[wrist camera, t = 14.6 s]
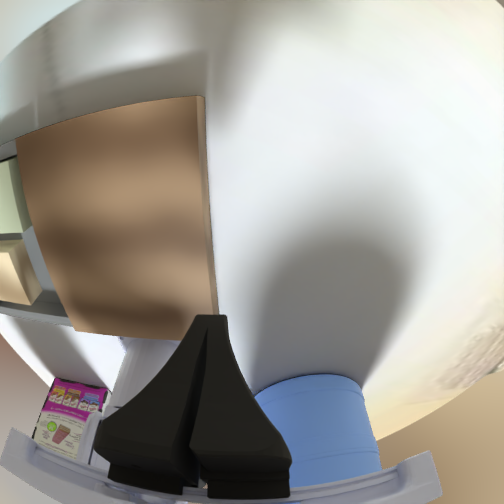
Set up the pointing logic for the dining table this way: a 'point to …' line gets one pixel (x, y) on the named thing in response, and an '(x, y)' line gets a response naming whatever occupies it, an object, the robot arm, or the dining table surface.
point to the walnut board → (125, 216)
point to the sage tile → (12, 199)
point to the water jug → (322, 428)
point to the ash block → (17, 274)
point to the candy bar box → (68, 415)
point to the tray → (48, 300)
